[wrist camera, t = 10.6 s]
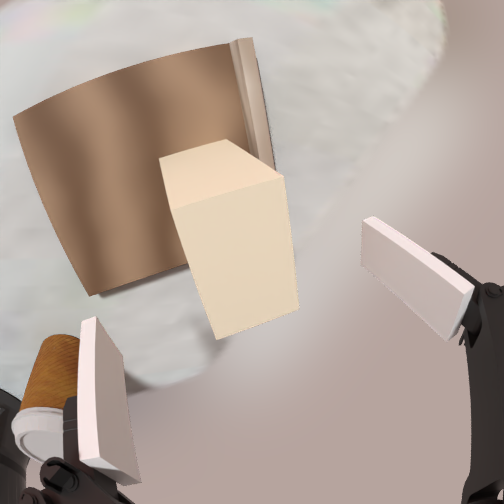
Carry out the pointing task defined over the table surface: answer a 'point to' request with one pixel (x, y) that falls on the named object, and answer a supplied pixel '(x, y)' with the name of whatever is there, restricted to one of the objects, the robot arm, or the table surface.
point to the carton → (233, 234)
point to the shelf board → (137, 154)
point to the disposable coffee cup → (47, 398)
